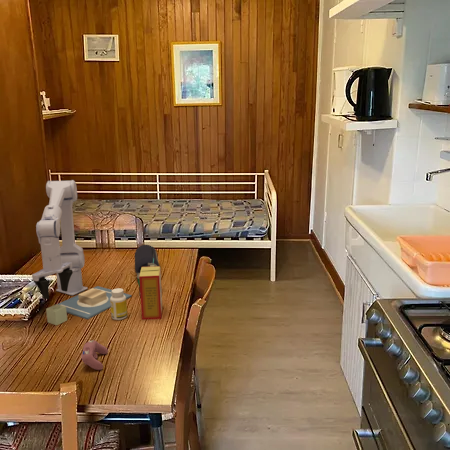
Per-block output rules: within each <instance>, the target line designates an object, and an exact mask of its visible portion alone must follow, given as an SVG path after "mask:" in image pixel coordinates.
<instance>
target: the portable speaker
mask: <svg viewBox="0 0 450 450" xmlns="http://www.w3.org/2000/svg"><path fill="white" fill-rule="evenodd" d="M148 263H153V264H156V265H157V266H160V261H159V259H158V253H157V250H156V249H155V247H154V246H152V245H150V244H142V245H140V246H138V247H137V248H136V250H135V252H134V271H135V273H136V275H137V273H140V272H141V267H147V266H148Z"/></svg>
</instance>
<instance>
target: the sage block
mask: <svg viewBox="0 0 450 450" xmlns="http://www.w3.org/2000/svg"><path fill="white" fill-rule="evenodd" d="M45 311H46V319H47V320H46V321H47V323H48V324H51V325H55V326H58V325H60V324H62V323H63V324H64V323H65V322H67V321H68V313H67V312H66V307H65V306H62V305H59V303H56V304H54V305H52V306H51V305H50V307H47V308H45Z"/></svg>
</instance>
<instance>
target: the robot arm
mask: <svg viewBox="0 0 450 450" xmlns="http://www.w3.org/2000/svg"><path fill="white" fill-rule="evenodd" d="M45 192H46V193H45V194H46V195H47V197H48V198H49V202H48V204H47V205H46V206H45V207H44V210H43V213H42V216H41V219H40V220H39V221H37V223H36V225H35V227H36V228H35V230H36V236H37V239H38V244H40V252H41V260H42V269H40V270H39V271H37V272H35V273H32V274H31V280H32V281H33V283H34V284H35V285H36V286H37V288H38V289H39V292H40V294H41V297H42V299H44V300H49V299H50V292H49V291H50V290H49V285H50V280H49V279H47V277H50V276H52V275H56V283H57V288H56V289H55V290H56V292H59V293H62V294H67V295H69V296H74V295H75V296H76V295H78V294H80V293H83V292H85V290H86V291H87V290H89V289H88V286H83V284H84V283H83V277H82V276H83V275H82V269H83V267H84V266H85V262H86V261H85V254H84V249H83V247H82V246H80V245H78V244H77V243H76V239H75V237H76V236H75V225H74V212H73V210H74V209H73V204H74V202H76V201H78V189H77V183H76V181H75V180H74V179H71V180H47V181H46V184H45ZM60 235H61V244H62V245H60Z"/></svg>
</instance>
